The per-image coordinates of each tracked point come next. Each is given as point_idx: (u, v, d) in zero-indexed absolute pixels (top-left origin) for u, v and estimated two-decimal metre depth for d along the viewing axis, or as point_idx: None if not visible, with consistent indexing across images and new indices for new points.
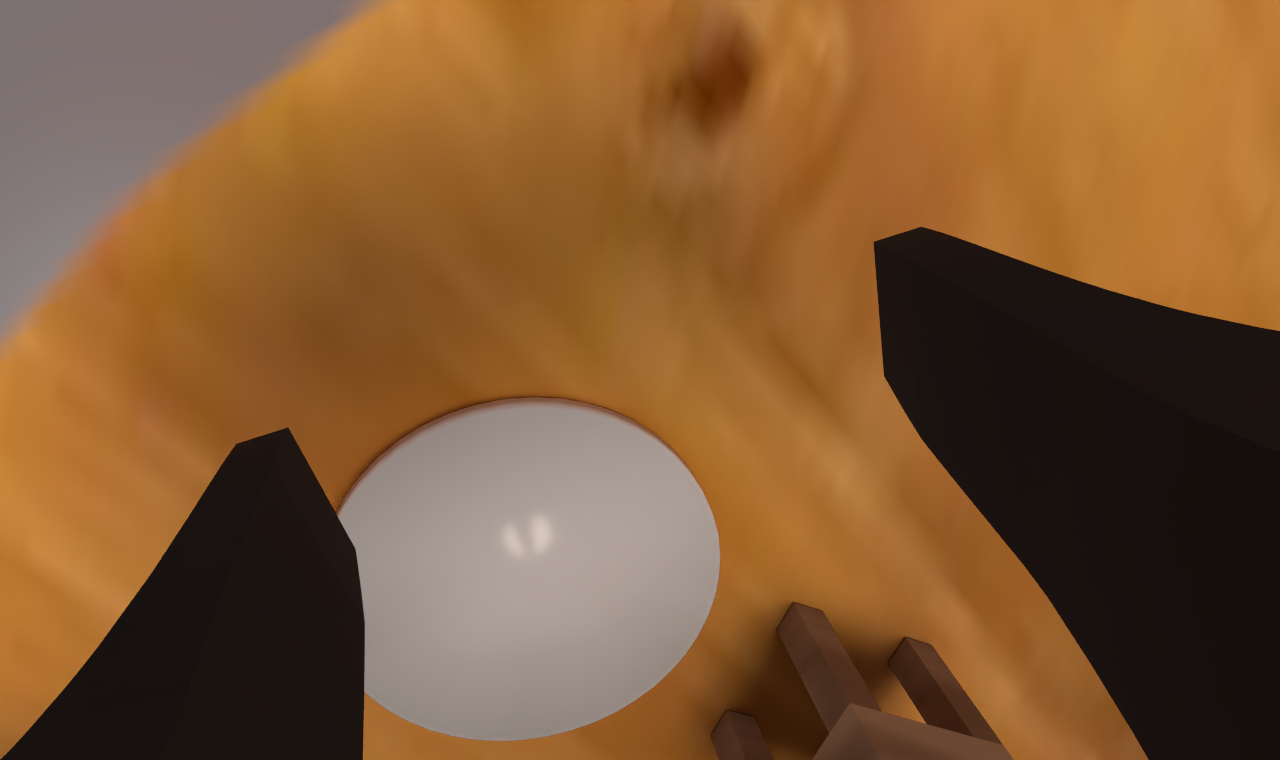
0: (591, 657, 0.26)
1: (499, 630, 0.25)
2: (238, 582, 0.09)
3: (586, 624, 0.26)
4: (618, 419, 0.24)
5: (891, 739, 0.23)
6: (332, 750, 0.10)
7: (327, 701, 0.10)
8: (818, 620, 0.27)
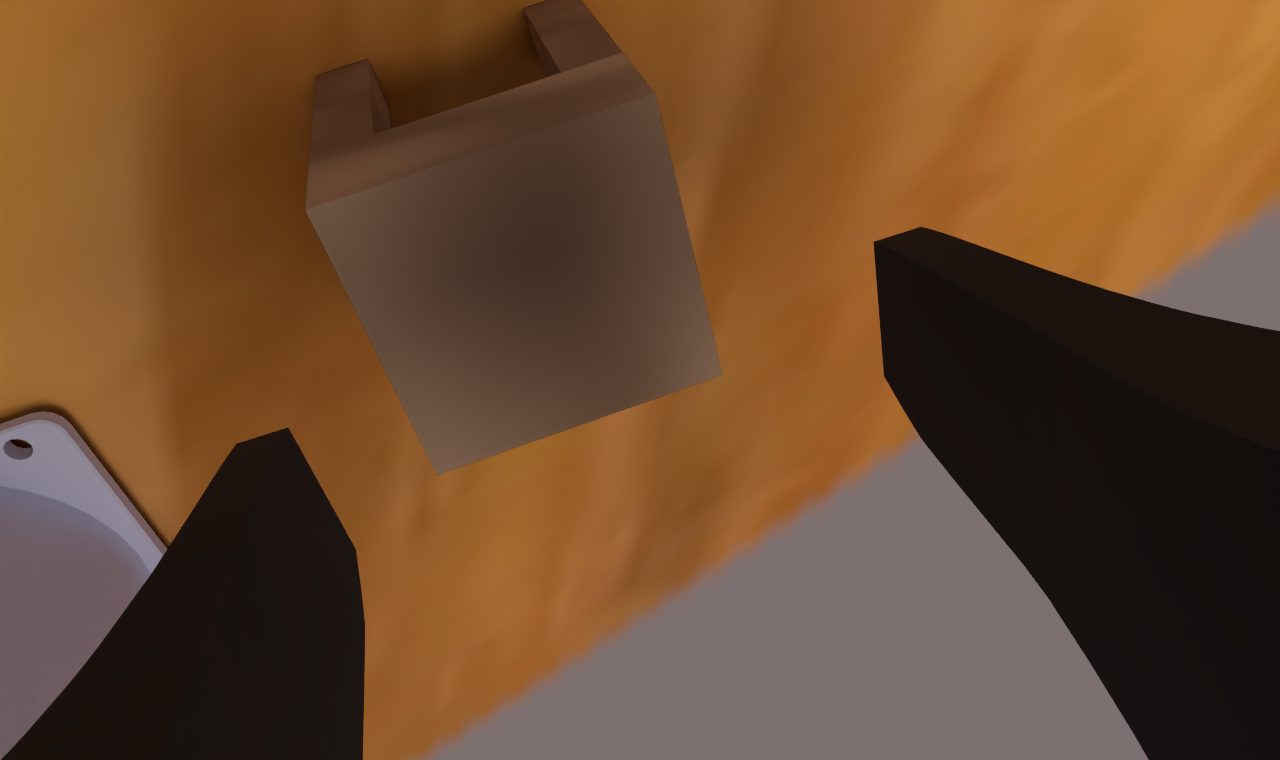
0: None
1: None
2: (238, 582, 0.09)
3: None
4: None
5: None
6: (332, 750, 0.10)
7: (327, 701, 0.10)
8: None
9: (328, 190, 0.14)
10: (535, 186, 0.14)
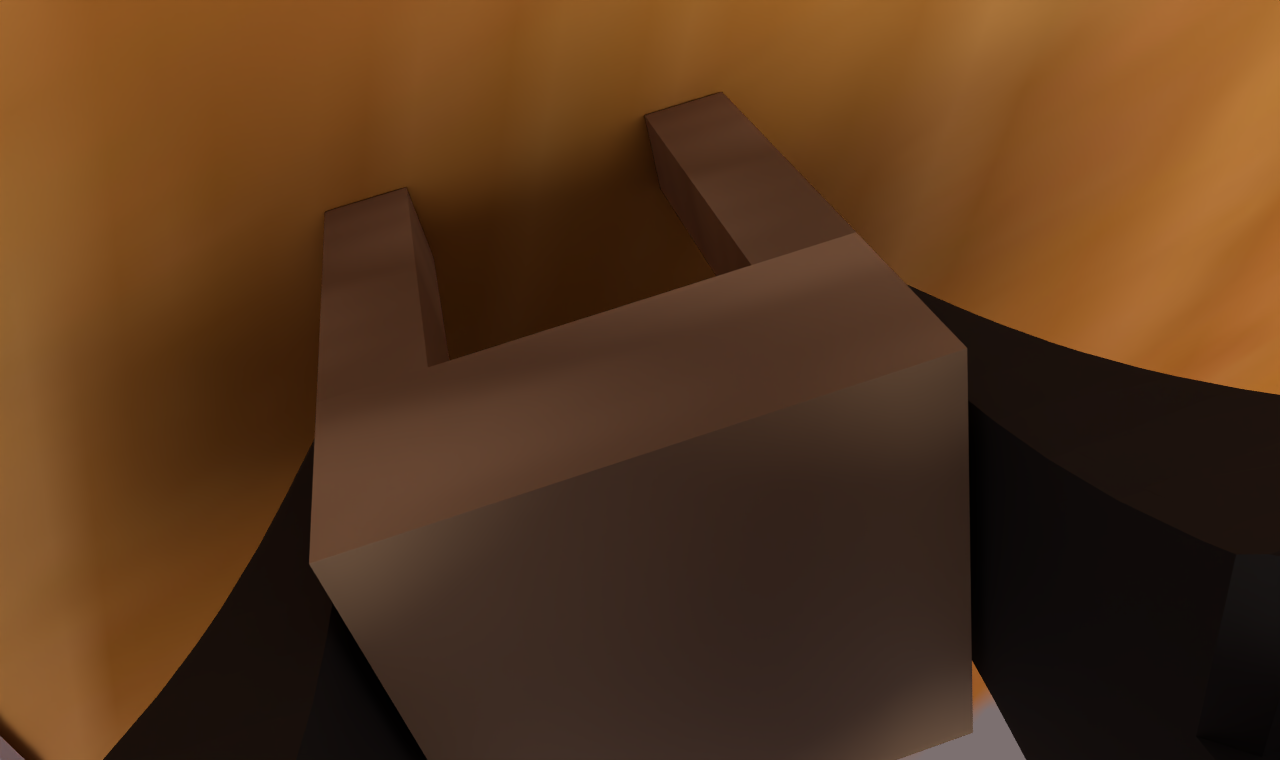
0: None
1: None
2: None
3: None
4: None
5: None
6: None
7: None
8: None
9: (353, 512, 0.07)
10: (731, 502, 0.08)
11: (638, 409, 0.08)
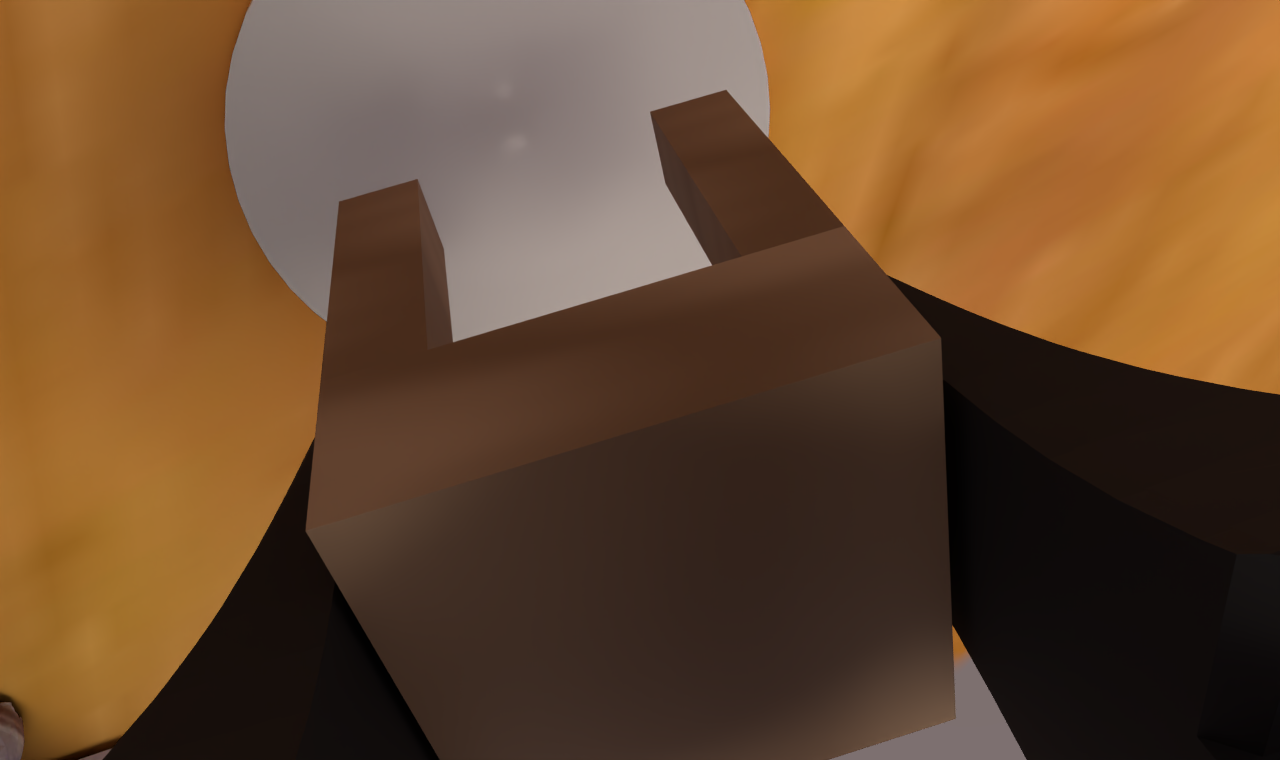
0: (478, 290, 0.20)
1: (437, 168, 0.18)
2: None
3: (513, 251, 0.20)
4: (764, 81, 0.19)
5: None
6: None
7: None
8: None
9: (349, 484, 0.08)
10: (711, 482, 0.08)
11: (623, 391, 0.08)
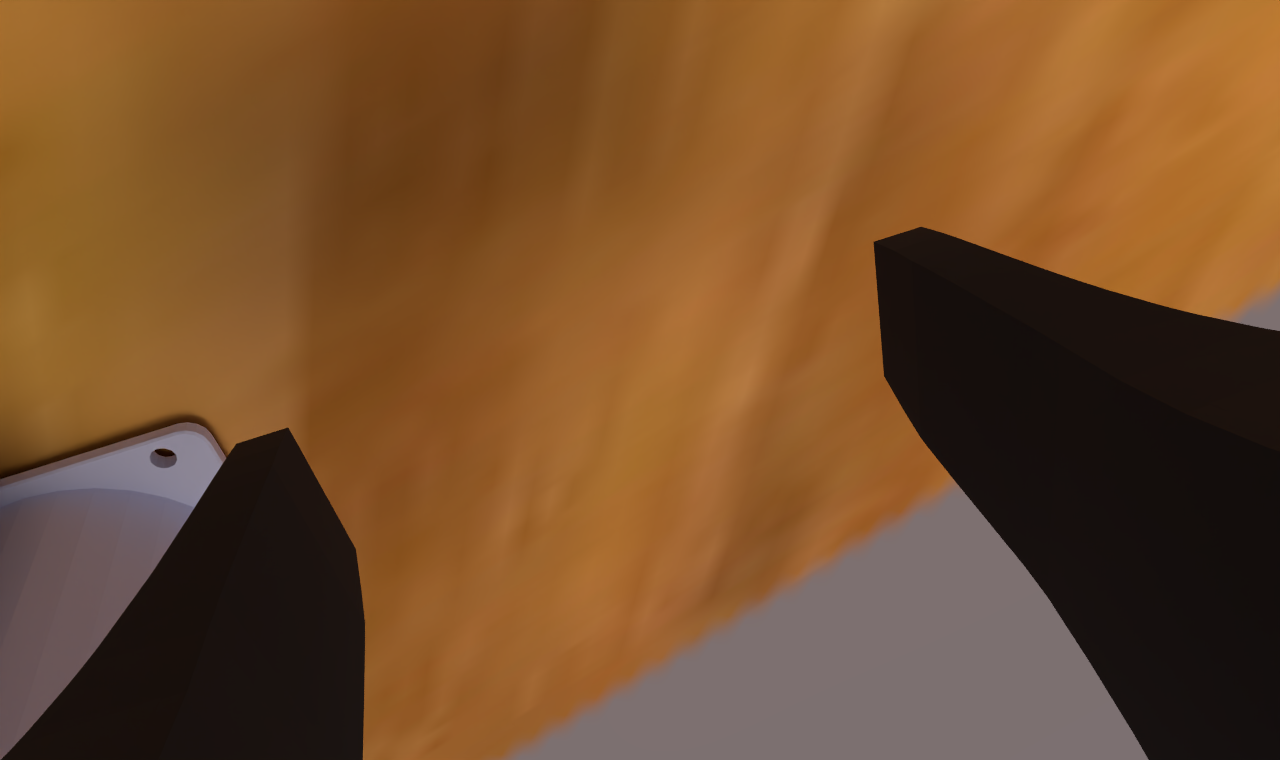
0: None
1: None
2: (238, 582, 0.09)
3: None
4: None
5: None
6: (332, 750, 0.10)
7: (327, 701, 0.10)
8: None
9: None
10: None
11: None
